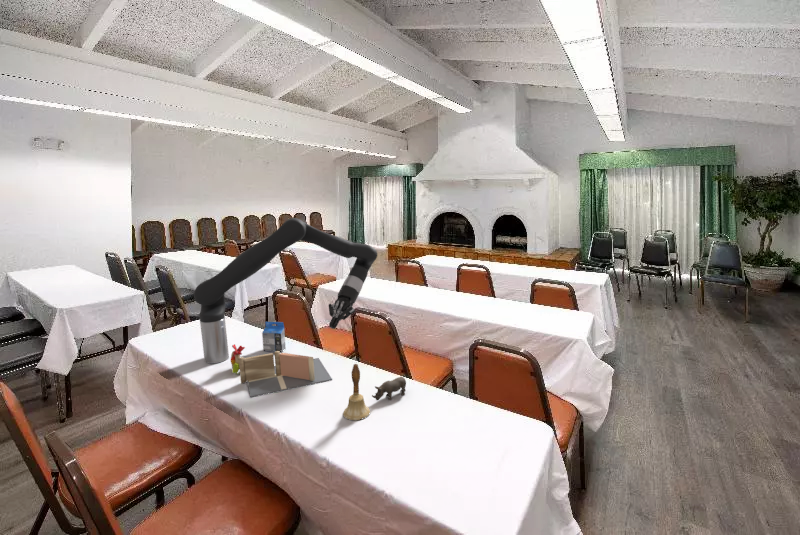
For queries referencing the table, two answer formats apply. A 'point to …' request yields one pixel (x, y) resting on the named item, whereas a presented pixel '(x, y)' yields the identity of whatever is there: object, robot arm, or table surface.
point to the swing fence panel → (297, 366)
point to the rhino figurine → (390, 388)
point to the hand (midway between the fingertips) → (331, 327)
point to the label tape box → (274, 337)
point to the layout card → (286, 381)
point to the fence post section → (259, 366)
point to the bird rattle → (236, 358)
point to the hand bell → (356, 399)
